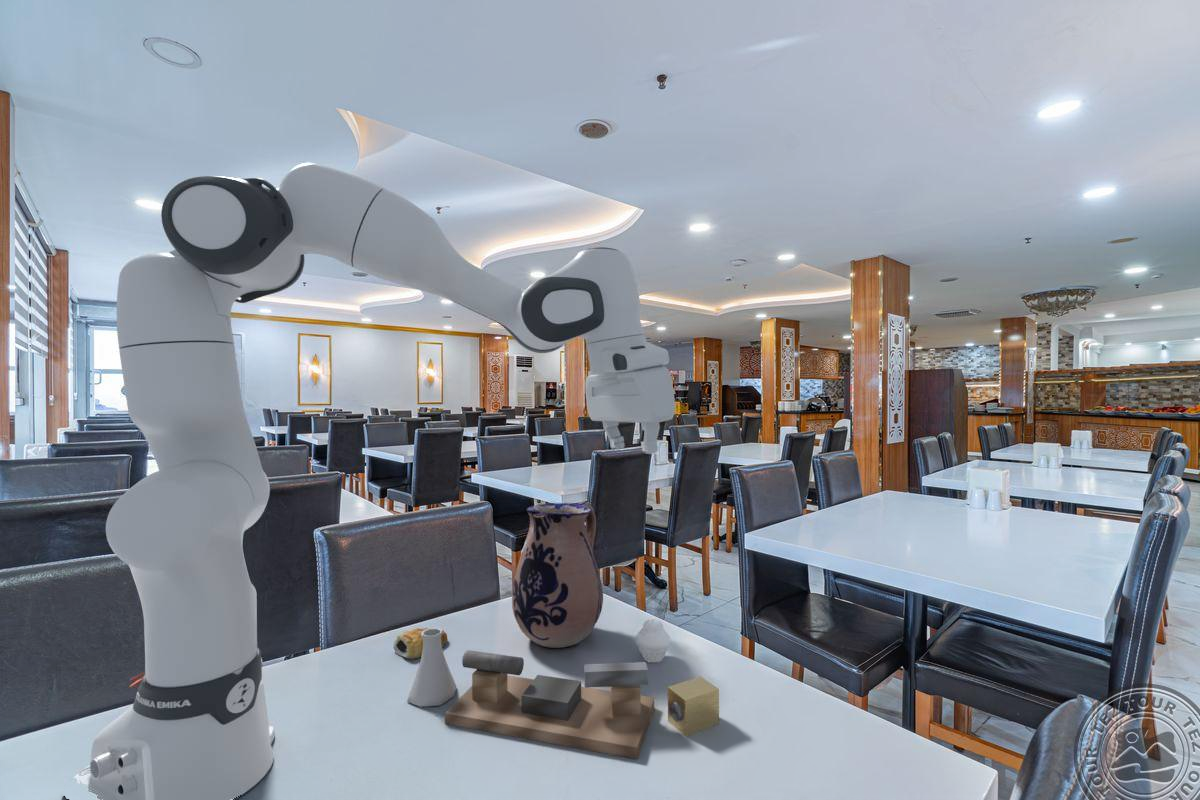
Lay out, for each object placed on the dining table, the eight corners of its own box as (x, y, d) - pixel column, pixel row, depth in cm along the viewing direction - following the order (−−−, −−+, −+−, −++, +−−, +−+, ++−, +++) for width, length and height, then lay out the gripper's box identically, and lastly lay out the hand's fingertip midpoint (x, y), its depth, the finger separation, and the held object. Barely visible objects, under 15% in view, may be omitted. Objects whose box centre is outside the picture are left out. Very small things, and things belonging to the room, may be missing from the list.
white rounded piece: (628, 659, 97) (628, 619, 96) (649, 647, 101) (649, 609, 101) (657, 671, 92) (657, 629, 92) (677, 657, 97) (677, 618, 97)
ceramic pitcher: (493, 649, 101) (493, 514, 100) (548, 608, 120) (547, 494, 120) (580, 667, 94) (579, 522, 94) (623, 620, 113) (622, 500, 113)
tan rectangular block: (683, 737, 75) (683, 701, 74) (666, 722, 78) (666, 687, 78) (720, 723, 78) (720, 688, 78) (702, 709, 81) (702, 675, 81)
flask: (442, 711, 81) (442, 644, 81) (398, 705, 82) (398, 640, 82) (464, 685, 88) (463, 624, 88) (423, 681, 90) (422, 620, 89)
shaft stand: (445, 723, 78) (444, 669, 78) (485, 681, 89) (485, 634, 89) (637, 759, 70) (636, 699, 70) (654, 707, 81) (654, 656, 81)
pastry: (435, 635, 107) (435, 616, 107) (455, 645, 103) (455, 625, 103) (390, 652, 100) (390, 631, 100) (409, 664, 96) (409, 642, 96)
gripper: (570, 367, 89) (584, 450, 90) (635, 356, 70) (652, 460, 71) (604, 361, 91) (617, 442, 92) (675, 349, 73) (691, 450, 74)
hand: (633, 450), depth 82 cm, fingers open, 8 cm apart
